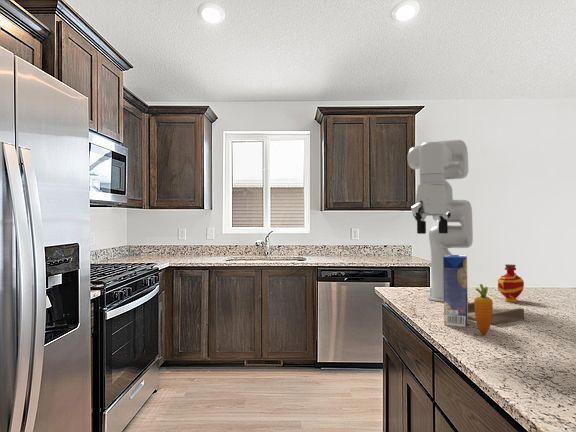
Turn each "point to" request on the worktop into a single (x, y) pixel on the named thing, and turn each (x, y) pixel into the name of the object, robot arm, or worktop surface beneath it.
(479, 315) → the carrot
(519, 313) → the u rest
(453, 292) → the beverage box
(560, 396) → the worktop surface
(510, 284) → the potion bottle
